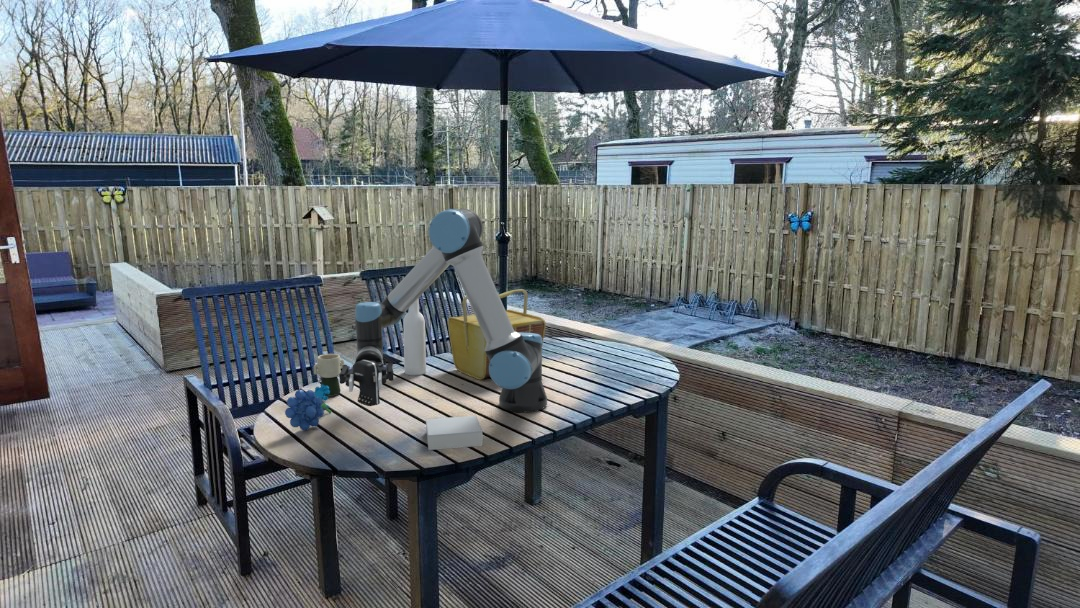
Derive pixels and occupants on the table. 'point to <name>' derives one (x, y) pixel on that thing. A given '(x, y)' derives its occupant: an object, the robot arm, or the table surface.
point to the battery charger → (367, 382)
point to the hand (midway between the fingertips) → (365, 385)
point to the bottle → (414, 341)
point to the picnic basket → (472, 342)
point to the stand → (453, 432)
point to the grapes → (304, 409)
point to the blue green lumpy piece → (323, 396)
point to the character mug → (329, 371)
